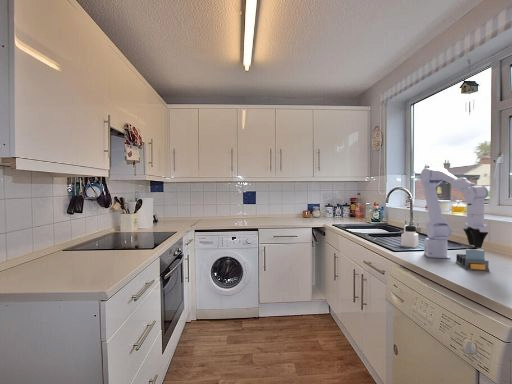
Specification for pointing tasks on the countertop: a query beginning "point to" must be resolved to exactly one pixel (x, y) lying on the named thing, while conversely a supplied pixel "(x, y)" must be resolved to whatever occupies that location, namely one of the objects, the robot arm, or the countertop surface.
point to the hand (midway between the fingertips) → (475, 246)
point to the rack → (472, 263)
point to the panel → (474, 254)
